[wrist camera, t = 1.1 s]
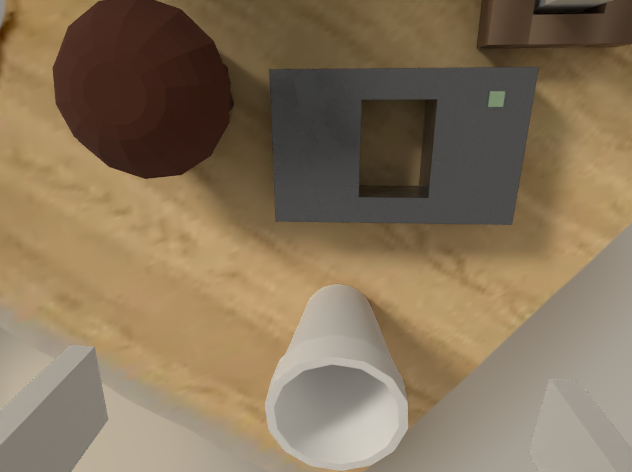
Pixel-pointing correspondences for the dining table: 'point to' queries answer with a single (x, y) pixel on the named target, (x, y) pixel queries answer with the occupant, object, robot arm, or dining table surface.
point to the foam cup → (337, 386)
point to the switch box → (437, 149)
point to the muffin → (142, 87)
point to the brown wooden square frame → (553, 26)
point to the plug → (565, 5)
